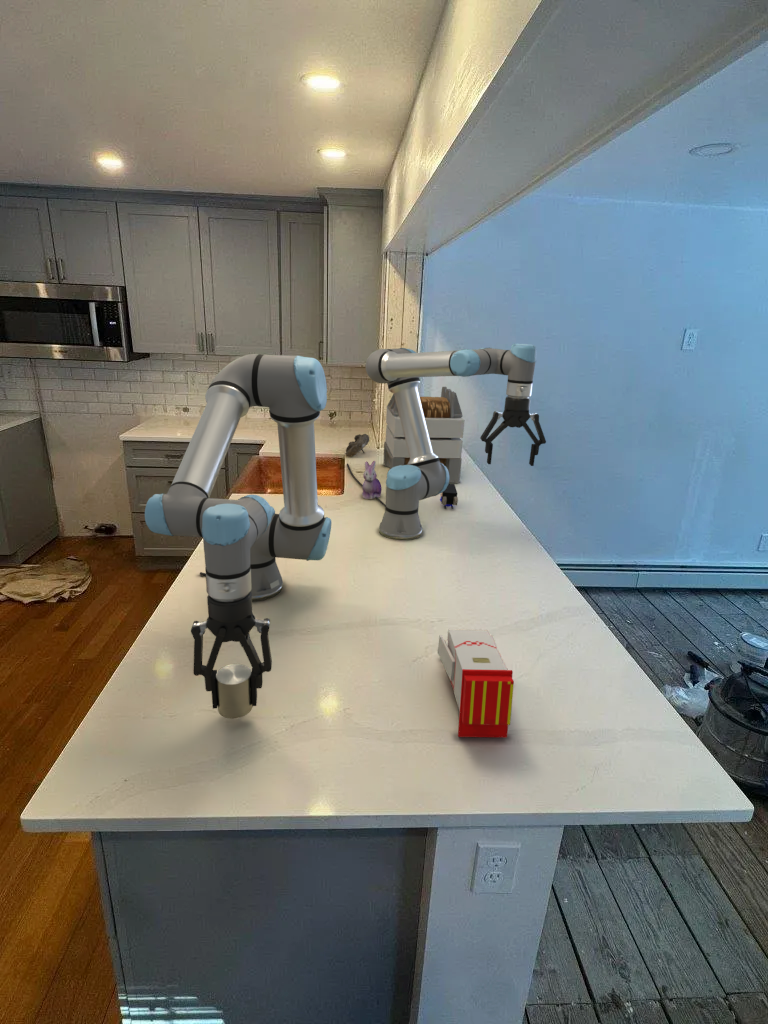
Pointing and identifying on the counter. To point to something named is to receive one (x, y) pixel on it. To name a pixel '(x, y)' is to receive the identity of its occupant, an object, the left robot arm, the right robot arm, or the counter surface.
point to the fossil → (357, 445)
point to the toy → (478, 682)
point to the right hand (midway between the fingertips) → (510, 464)
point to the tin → (234, 691)
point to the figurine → (371, 482)
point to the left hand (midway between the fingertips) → (235, 702)
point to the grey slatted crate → (429, 432)
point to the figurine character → (449, 496)
